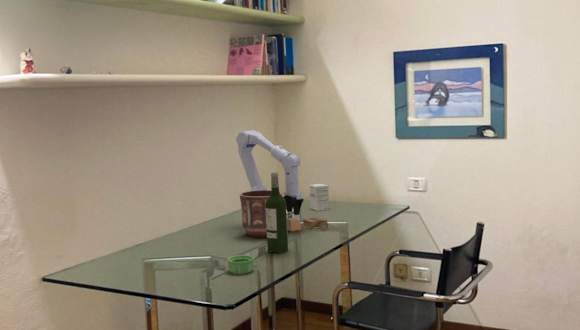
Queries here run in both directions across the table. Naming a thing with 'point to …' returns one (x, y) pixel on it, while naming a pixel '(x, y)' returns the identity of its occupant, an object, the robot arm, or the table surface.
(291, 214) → the syrup box
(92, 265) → the table surface
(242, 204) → the pottery
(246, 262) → the ramekin
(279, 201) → the wine bottle
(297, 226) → the terracotta cube
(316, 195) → the supplement box
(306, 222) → the walnut block
